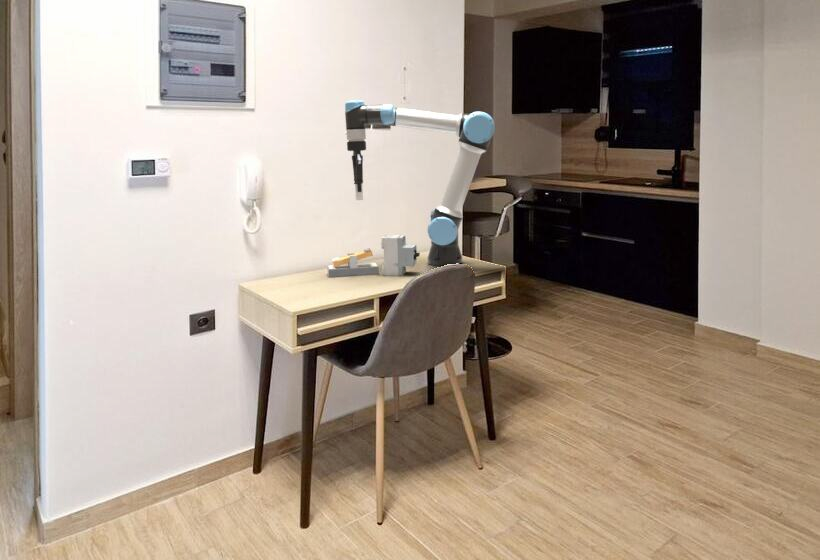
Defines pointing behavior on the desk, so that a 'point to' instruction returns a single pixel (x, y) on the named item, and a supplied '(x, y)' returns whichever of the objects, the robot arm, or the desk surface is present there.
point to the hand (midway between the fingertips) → (359, 199)
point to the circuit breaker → (397, 255)
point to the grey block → (353, 268)
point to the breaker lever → (360, 255)
